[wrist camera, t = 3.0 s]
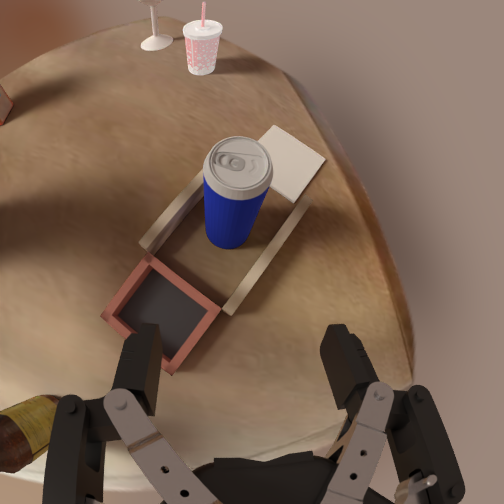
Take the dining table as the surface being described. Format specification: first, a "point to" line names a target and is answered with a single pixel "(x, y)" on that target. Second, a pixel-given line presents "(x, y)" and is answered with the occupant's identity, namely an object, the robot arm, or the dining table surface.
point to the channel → (185, 205)
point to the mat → (290, 162)
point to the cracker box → (4, 105)
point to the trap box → (161, 309)
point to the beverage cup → (202, 44)
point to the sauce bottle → (25, 432)
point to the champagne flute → (155, 30)
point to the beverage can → (234, 189)
